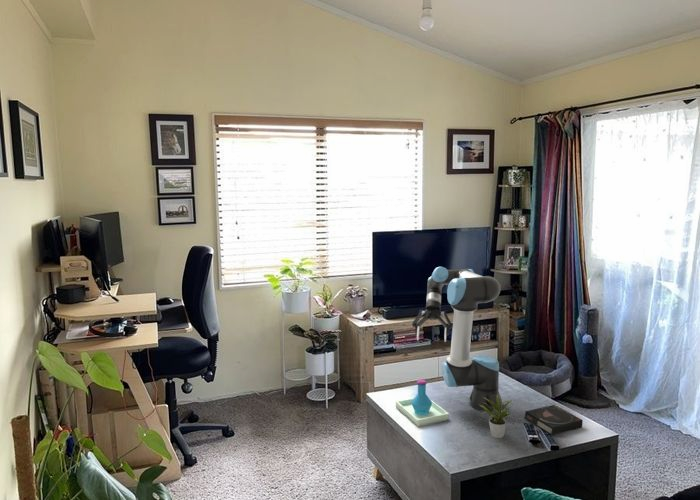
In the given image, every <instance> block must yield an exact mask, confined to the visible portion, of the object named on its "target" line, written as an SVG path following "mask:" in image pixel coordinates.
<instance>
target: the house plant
mask: <svg viewBox="0 0 700 500" xmlns="http://www.w3.org/2000/svg"><path fill="white" fill-rule="evenodd" d="M483 398H484V397H483ZM485 399H487V398H485ZM487 400H488V402H489V403H490V404H492V405H491V406H493V407H492V408H493V410H494V411H493V410H492V411H490V410H488V409H487V408H485V407H484V406H481V405H480V406H481V407H482V408H483V409H484V410H485V411H483V412H481V413H482V414H488V415H490V418H489V419H488V424H489V429H490V431H489V432H490V435H491V436H492V437H493V438H496V439H501V438H503V437H504V436H505V430H506V428H507V427H506V426H507V420H506V419H504V418H508V419H510V418H511V417H510V414H511V412H510V411H509V410H508V406H509V405H510V404H511V403H512V401H515V400H516V398H515V399H510V400H505V401H503V399H502V398H501V402H500V404H499V397H498V395H497V400H496V405H497V406H496V405H495V404H494V405H495V406H494V405H493V403H494V402H493V401H492V402H493V403H492V402H491V401H490V400H489V399H487ZM484 404H486V403H484ZM504 404H505V405H504ZM486 405H487V404H486ZM503 405H504V406H503ZM495 407H496V408H495ZM509 413H510V414H509Z"/></svg>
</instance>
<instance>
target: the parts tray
mask: <svg viewBox="0 0 700 500" xmlns="http://www.w3.org/2000/svg"><path fill="white" fill-rule="evenodd" d="M414 398H415V397H412V398H406V399H401V400H397V401H395V408H396V409H397V410H398V411H399V412H400V413H402V414H403V416H405V417H406V418H407V419H408V420H409V421H410V422H411V423H413V424H414V425H415V426H416V427H417V428H418V427H422V426H423V427H424V426H427V425H432V424H437V423H441V422H444V421H445V422H446V421H450V413H449V412H448V411H446V410H445V409H444V408H443V407H441V406H440V405H438V404H437V403H436V402H434V401H433V400H432V399H430V398H429V399H430V400H431V401H432V405H431V408H430V410H429V413H428V414H426V415H418V414H416V413H415V410H414V408H413V406H412V400H413V399H414Z"/></svg>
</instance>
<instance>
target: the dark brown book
mask: <svg viewBox="0 0 700 500" xmlns="http://www.w3.org/2000/svg"><path fill="white" fill-rule="evenodd" d="M524 419H525V420H526V421H527V422H529V423H531V424H533V425H534V426H536V427H537V428H539V429H541V428H542V429H544V430H546V431H547V432H548V433H547V432H546V433H547V434H549V433H550V434H551V435H550V434H549V435H550V436H555V435H558V434H563V433H566V432H570V431H575V430H578V429H583V419H582V418H580V417H578V416H576V415H574V414H572V413H570V412H569V411H567V410H565V409H563V408H562V407H559V406H558V405H556V404H551V405H546V406H543V407H538V408H534V409H529V410H525V414H524ZM542 429H541V430H542ZM544 430H543V431H544Z"/></svg>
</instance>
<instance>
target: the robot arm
mask: <svg viewBox="0 0 700 500" xmlns="http://www.w3.org/2000/svg"><path fill="white" fill-rule="evenodd" d="M426 285H427V286H426V287H427V289H426V290H427V291H426V303H425V310H423V309H419V311H418V314H417V316H416V317H415V319H414V320H413V321H412V324H411V326H412V328H415V329H414V334H416V340H417V341H419V340H420V327H421V326H422V325H423V324H424V323H425V322H427V321H428V320H430V321H436V320H437V321H438V322H440V324H441V325H442V326H443V327H444V335H443V336H444V337H443V338H444V343H446V342H447V336H449V335H450V334H449V333H450V330H452V331H451V340H450V341H451V342H450V343H451V344H450V354H448V355H447V356H446V361H444V362H442V363H441V374H442V377H443V381H444V383H445V384H446V386H447V387H449V388H457V387H470V386H473V387H472V391H471V394H470V395H469V399H468V401H469V402H468V404H469V405H470V407H471V408H473V409H475V410H477V411H485V410H484V409H483V408H482V407H481V406H484V407H485V408H487V409H488V410H490V411H491V412H494V410H493V408H492V407H493V406H491V405H492V404H490V403H489V402H488V400H487V399H489V400H490V401H491V402H492V401H493V402H494V403H493V402H492V403H493V405H494V404H495V405H496V400H497V395H498V397H499V404H500V402H501V399H502V397H501V393H500V391H499V386H500V385H499V384H500V381H499V377H500V364H499V361H498V359H496V358H494V357H493V356H489V355H484V354H477V355H474V356H473V359H472V358H471V357H470V353H471V352H470V351H471V340H472V330H473V321H474V312H476V311H477V310H478V304H486V303H490V302H493V301H495V300H496V299H497V298H498V296H499V295H500V293H501V284H500V282H499V281H498V280H497V279H496V278H494V277H493V276H491V275H485V276H483V275H480V274H477V273H475V271H474V270H473V269H472V268H463V269H462V268H461V269H460V268H459V269H447V268H446V267H443V266H438V267H435V268H434V270H433V272H432V273H431V276H430V277H428V279H427V284H426ZM444 285H445V286H447V290H446V295H447V302H448V304H450V306H451V308H452V309H453V317H452V318H453V319H452V322H451V320H450V318H449V317H448V315H447V310H443V311H441V307H442V289H443V287H444ZM423 315H424V316H423ZM422 316H423V317H422ZM441 316H443V317H444V319H445V321H444V319H443V318H442V317H441ZM483 397H484V398H483ZM485 398H487V399H485ZM484 403H486V404H487V405H486V404H484ZM480 405H481V406H480ZM495 405H494V406H495ZM496 406H497V405H496ZM495 408H496V407H495ZM492 410H493V411H492Z"/></svg>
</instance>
